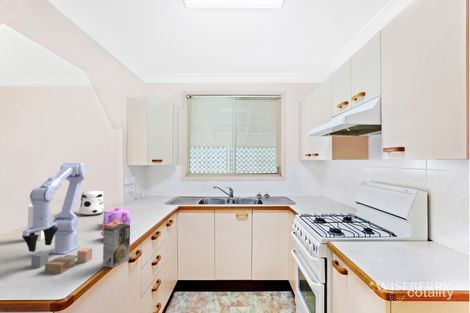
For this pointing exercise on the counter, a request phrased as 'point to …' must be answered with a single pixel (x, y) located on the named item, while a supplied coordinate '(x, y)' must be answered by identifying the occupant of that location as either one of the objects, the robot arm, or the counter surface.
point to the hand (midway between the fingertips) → (40, 247)
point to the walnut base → (59, 264)
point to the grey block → (39, 259)
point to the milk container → (91, 203)
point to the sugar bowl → (110, 225)
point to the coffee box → (116, 245)
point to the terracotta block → (84, 255)
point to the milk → (30, 221)
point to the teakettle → (117, 216)
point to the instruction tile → (71, 256)
